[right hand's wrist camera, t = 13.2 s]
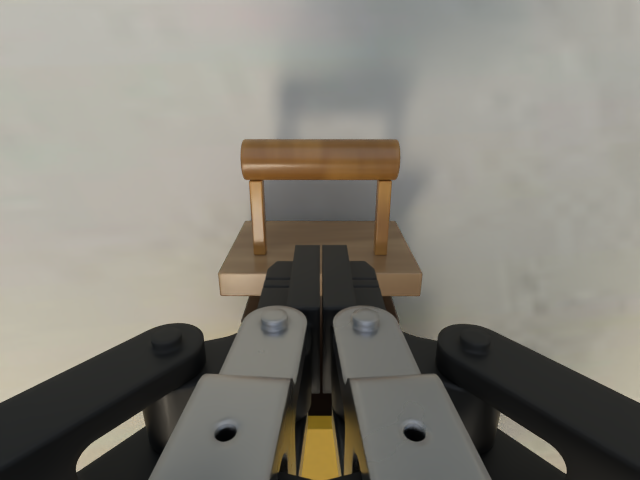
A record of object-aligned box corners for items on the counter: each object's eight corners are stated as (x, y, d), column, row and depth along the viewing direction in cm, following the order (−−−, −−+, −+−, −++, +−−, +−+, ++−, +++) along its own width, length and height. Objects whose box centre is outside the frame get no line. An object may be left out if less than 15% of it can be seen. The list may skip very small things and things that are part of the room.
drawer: (238, 126, 23) (204, 147, 16) (402, 127, 23) (436, 147, 16) (259, 421, 31) (242, 516, 24) (380, 421, 31) (397, 516, 24)
